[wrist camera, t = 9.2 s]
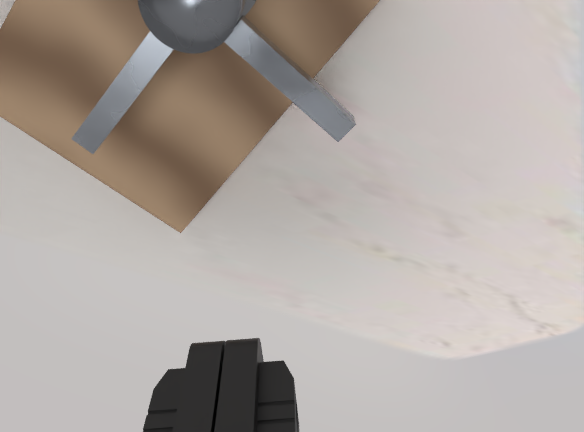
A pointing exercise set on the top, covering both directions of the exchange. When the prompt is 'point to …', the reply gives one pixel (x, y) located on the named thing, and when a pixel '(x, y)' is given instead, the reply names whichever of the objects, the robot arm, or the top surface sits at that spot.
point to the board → (156, 93)
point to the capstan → (198, 39)
